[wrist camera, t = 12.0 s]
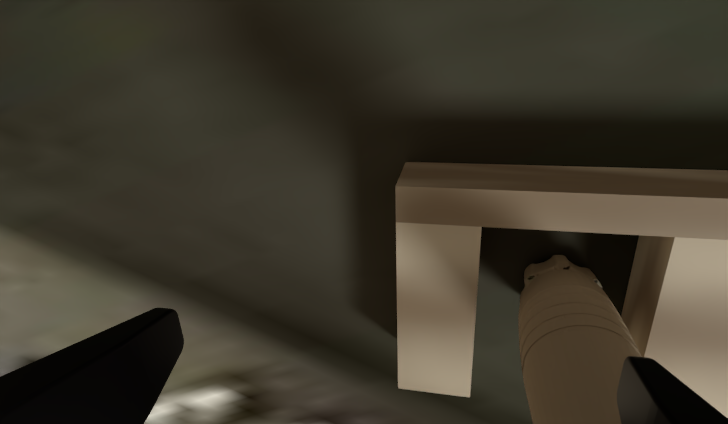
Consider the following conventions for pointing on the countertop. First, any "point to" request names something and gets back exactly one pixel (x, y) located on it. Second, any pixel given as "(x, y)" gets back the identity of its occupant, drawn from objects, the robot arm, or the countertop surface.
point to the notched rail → (573, 214)
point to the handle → (570, 345)
